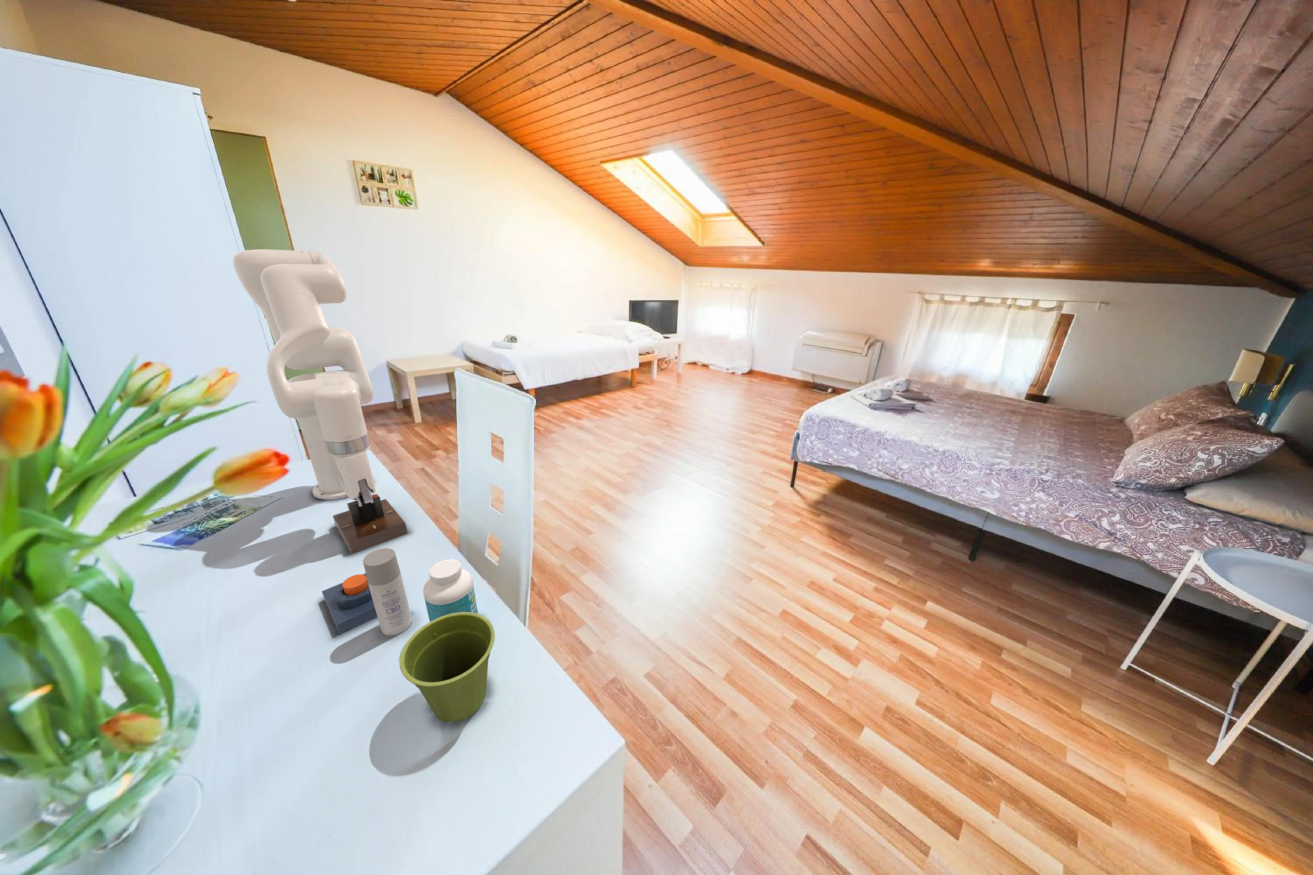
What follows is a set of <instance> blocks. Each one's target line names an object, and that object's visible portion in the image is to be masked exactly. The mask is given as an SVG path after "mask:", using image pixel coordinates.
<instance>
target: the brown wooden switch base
mask: <svg viewBox="0 0 1313 875" xmlns="http://www.w3.org/2000/svg"><path fill="white" fill-rule="evenodd" d="M380 500H381V504H382V508H383V512H384V516H382V517H379V518H376V519H373V520H369V521H366V522H363V523H360V524H357V525H354V524H353V522H352V519H351V516H350V512H349V510H347V511H343V512H340V513H336V514H333V515H332V518H333V522H334V525H335V527H336V530H337V531H338V533H339V534H340V537H341V538H342V540H343V541H344V543H345V545H346V547H347V548H348V550H349V552H350V554H351V555H354V554H357V553H359V552H362V551H365V550H367V549H370V548H373V547H375V546H378V545H381V544H383V543H386V542H389V541H391V540H394V539H396V538H399V537H402V536H405V535H408V528H407V525H406V521H404V519H403V518H402V517H401V516H400V514H399V513H398V512H397V511H396V510H395V508H394V507H393V506H392V505H391V503H390V502H389V501H388V500H387V499H386V498H384V499H380Z"/></svg>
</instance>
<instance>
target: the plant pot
mask: <svg viewBox="0 0 1313 875" xmlns="http://www.w3.org/2000/svg"><path fill="white" fill-rule="evenodd" d="M495 640H496V630H495V628H494V625H493V623H492V622H491V621H490V619H488V618H487V617H485V616H484V615H482V614H480V613H478V614H477V613H471V612H458V613H452V614H448V615H445V616H442V617H439V618H437V619H435V620H433V621H431V622H430V621H429V622H427V623H426V624H424V625H423V626H421V627H420V628H419V629H417V630H416V631H415V632H414V634H412V635H411V636H410V637H409V638H408V640H407V642H406V643H405V644H404V646H403V648H402V650H401V653H400V656H399V669H400V673H401V674H402V676H403V677H404V679H406V681H408V682H410V683H411V684H413V685H414V686H415V687H416V688H417V689H419V691H420V694H422V696H423V698H424V700H425V701H426V703H427V704H428V706H429V708H430V710H431V711H432V712H433V714H434V716H435V717H436V718H437V719H438V720H439V721H441V722H443V723H458V722H462V721H463V720H466V719H468V718H469V717H471V716H472V715H474V714H475V713H476V712H477V711H478V710H479V709H480V708H481V706H482V705H483V703H484V700H485V699H486V695H487V687H488V685H487V684H488V673H489V672H488V670H489V659H490V655H491V652H492V649H493V647H494V644H495Z"/></svg>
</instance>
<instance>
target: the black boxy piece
mask: <svg viewBox="0 0 1313 875" xmlns="http://www.w3.org/2000/svg"><path fill="white" fill-rule="evenodd" d="M372 498H373V501H374V504H375V508H376V512H377V517H376V518H379V517H382V516H384V512H383V508H382V504H381V500H382V499H381V497H380V495H379V494H377V493H374V494H372ZM360 500H361V499H360ZM346 505H347V508H348V511H349V512H350V516H351V519H352V522H353V524H354V525H357V524H360V523H363V522H362V521H361V520H360V516H359V512H358V509H357V506H358V503H357V501H356V500H354V501H351V502H347V503H346ZM376 518H373V519H376ZM373 519H370V520H373ZM367 521H369V520H367ZM364 522H366V521H364Z"/></svg>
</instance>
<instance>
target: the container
mask: <svg viewBox="0 0 1313 875" xmlns="http://www.w3.org/2000/svg"><path fill="white" fill-rule="evenodd" d="M362 564H363V568H364V573H366V576H367V581H368V585H369V589H370V592H371V596H372V599H373V603H374V606H375V610H376V613H377V617H376V618H377V620H378V623H379V627H380V630H381V633H382V635H383V636H385V637H390V638H391V637H396V636H400V635H401V634H403V633H405V632H406V631H408V630H409V629H410V628H411V627H412V624H413V619H412V618H413V617H412V613H411V609H410V605H409V600H408V596H407V593H406V588H405V584H404V580H403V576H402V571H401V568H400V565H399V561H398V558H397V555H396V551H395V549H393V548H389V547H384V548H378V549H375V550H373V551H371V552H369V553H367V554H366V555H365V556H364V557H363V559H362Z"/></svg>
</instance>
